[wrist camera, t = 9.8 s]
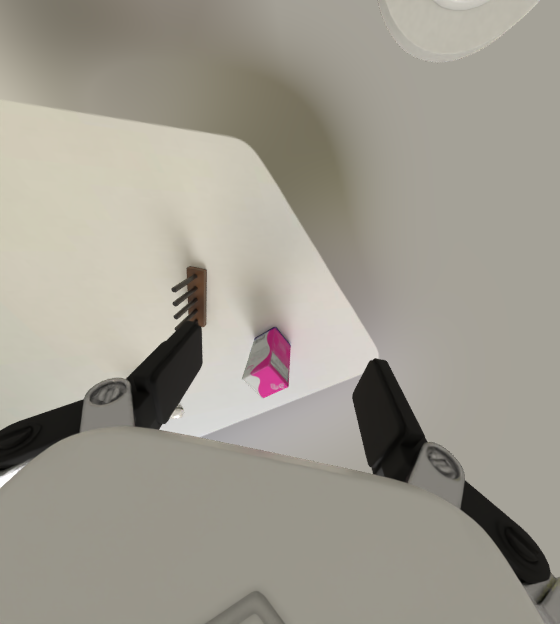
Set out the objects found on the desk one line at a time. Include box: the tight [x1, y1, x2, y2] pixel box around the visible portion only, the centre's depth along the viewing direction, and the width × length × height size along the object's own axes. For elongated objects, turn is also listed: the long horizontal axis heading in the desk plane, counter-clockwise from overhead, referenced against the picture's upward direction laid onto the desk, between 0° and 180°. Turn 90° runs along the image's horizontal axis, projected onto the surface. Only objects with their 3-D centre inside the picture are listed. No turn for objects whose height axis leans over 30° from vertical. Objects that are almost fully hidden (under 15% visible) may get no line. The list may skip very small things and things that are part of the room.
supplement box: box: [242, 327, 291, 398], centre depth 38 cm, size 6×6×12 cm
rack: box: [172, 266, 207, 330], centre depth 37 cm, size 12×3×8 cm, turn 170°
